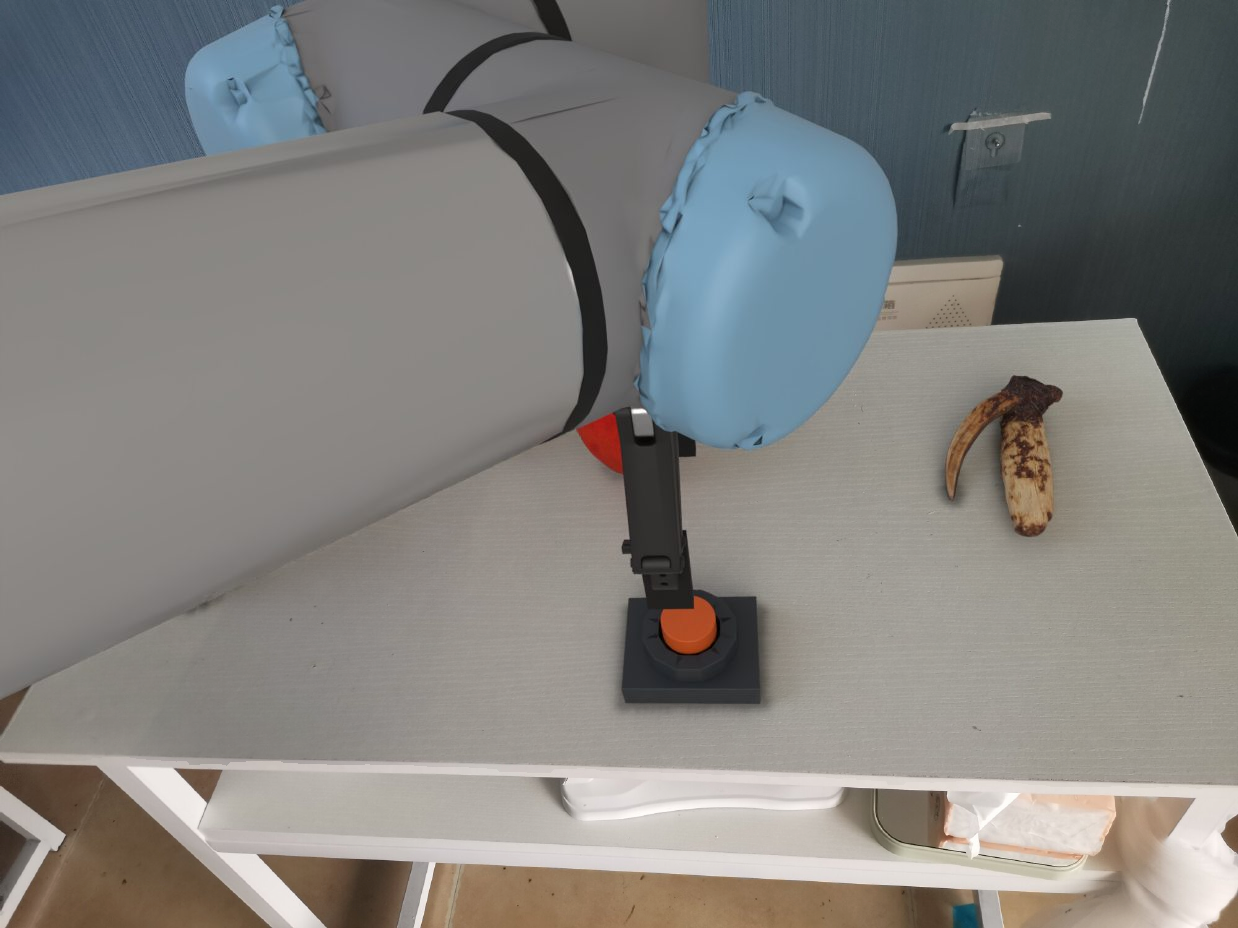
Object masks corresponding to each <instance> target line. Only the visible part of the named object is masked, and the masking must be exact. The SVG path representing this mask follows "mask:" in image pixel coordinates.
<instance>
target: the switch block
mask: <svg viewBox="0 0 1238 928" xmlns="http://www.w3.org/2000/svg"><path fill="white" fill-rule="evenodd" d="M693 593H694V596H697V597H700V598H702V599H704V600H706V601H707V602H708V603H709V604H710V605H711V606H712V608H713V609H714V612H715V616H716V628H717V633H716V637H715V640H714V641H713V643H712V644H711V645H710V646H709V647H708V648H707V649H705V650H704V651H702V652H699V653H696V654H682V653H679V652H676V651H674V650H673V649H671V648H670V647H669V646H668V645H667V643H666V642H665V640H664V637H663V632H662V626H661V614H662V611H663V609H651V610H648V606H647V600H646V597H629V598H628V601H627V613H626V626H625V628H626V629H625V638H624V653H623V665H622V678H621V692H622V696H623V700H624V703H625V704H695V705H697V704H702V705H703V704H706V705H707V704H708V705H709V704H712V705H713V704H715V705H719V704H720V705H724V704H725V705H726V704H727V705H733V704H734V705H760V704H761V680H760V677H761V676H760V655H759V654H760V653H759V651H760V650H759V628H758V626H759V625H758V606H757V605H758V602H757V596H756V595H752V596H750V595H747V596H717V595H714V594H713V593H710V592H708V591H706V590H704V589H700V588H699V589H693Z"/></svg>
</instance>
